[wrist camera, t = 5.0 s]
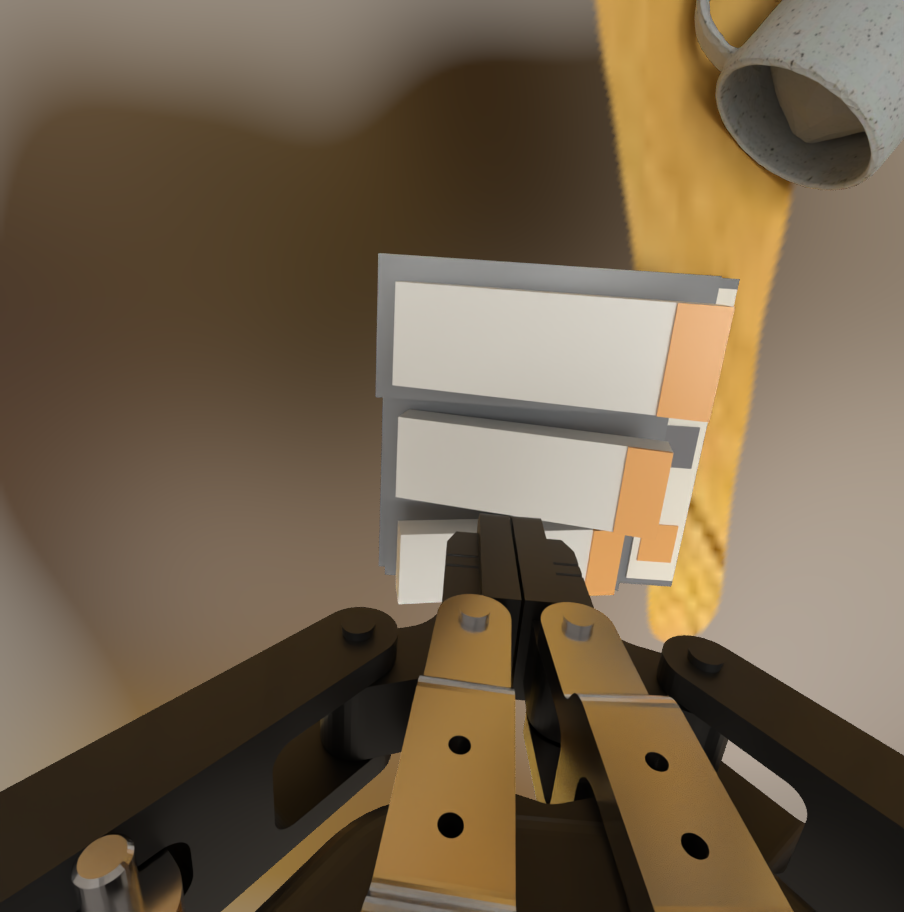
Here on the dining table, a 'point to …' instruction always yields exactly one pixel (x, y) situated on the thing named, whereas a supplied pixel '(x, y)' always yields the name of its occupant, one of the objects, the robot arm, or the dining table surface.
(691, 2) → the dining table surface
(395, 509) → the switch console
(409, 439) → the middle rocker
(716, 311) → the front rocker
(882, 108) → the ceramic mug
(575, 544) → the block
